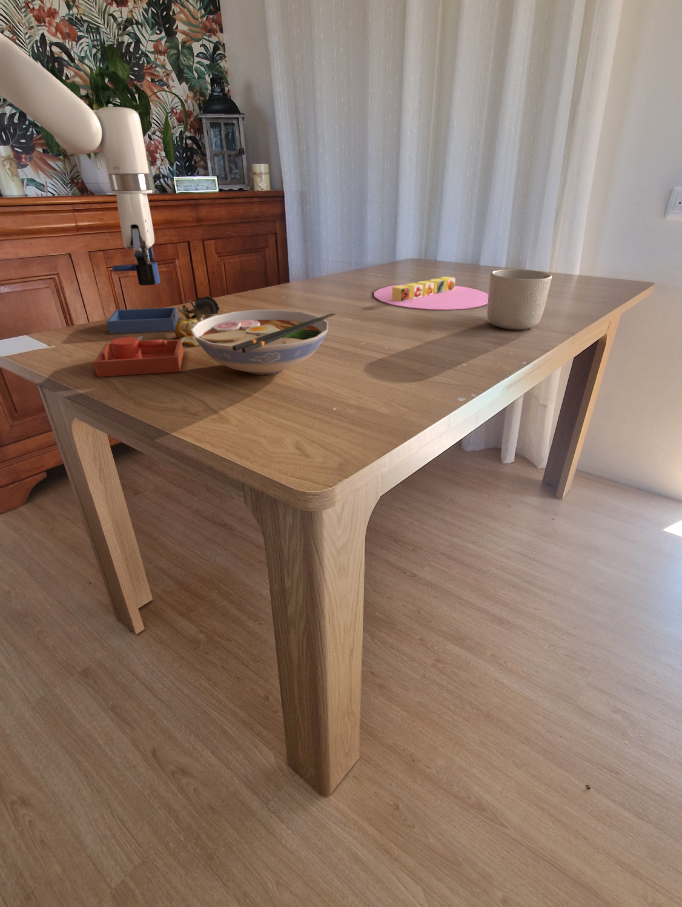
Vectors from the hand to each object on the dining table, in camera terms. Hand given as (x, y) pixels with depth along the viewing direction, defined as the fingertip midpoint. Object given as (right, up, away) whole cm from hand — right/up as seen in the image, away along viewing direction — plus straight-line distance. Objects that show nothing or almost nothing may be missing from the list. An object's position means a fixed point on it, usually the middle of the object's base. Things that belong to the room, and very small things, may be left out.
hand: (149, 281), depth 105 cm
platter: (+66, +7, +31) cm, 73 cm away
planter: (+79, -8, +5) cm, 80 cm away
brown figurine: (+11, -8, +5) cm, 14 cm away
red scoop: (+6, -20, -18) cm, 28 cm away
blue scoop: (-2, -1, 0) cm, 2 cm away
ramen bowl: (+27, -22, -19) cm, 40 cm away
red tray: (+6, -21, -17) cm, 28 cm away
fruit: (+11, -14, -5) cm, 18 cm away
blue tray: (-2, -8, +4) cm, 10 cm away
